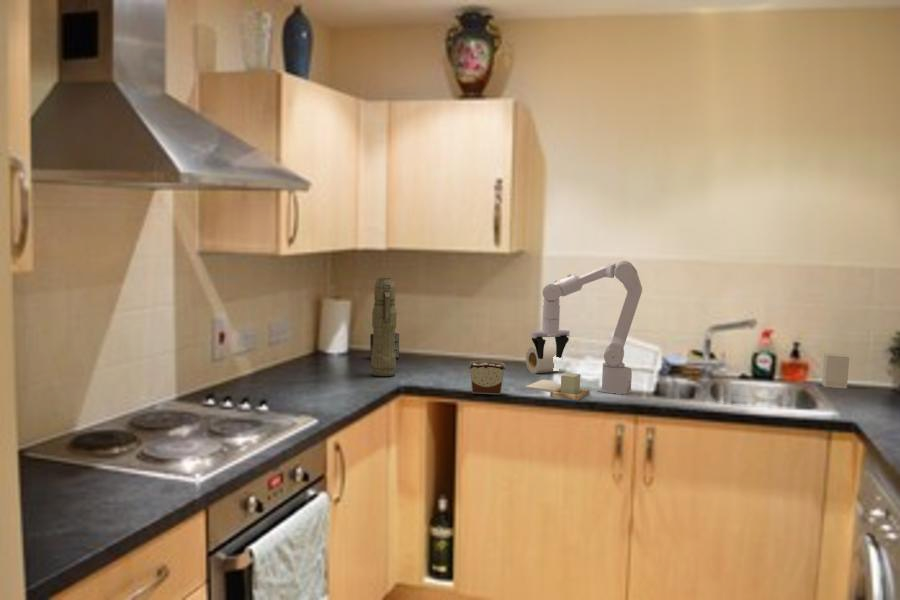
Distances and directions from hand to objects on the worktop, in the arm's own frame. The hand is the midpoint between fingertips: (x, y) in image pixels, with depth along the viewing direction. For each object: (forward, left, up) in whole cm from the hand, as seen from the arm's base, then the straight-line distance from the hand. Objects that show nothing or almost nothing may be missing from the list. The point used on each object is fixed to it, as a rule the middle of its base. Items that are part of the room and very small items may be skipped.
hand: (549, 358), depth 269 cm
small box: (+77, -14, -11) cm, 79 cm away
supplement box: (-86, -58, -10) cm, 104 cm away
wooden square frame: (-11, +9, -10) cm, 17 cm away
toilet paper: (+12, -25, -11) cm, 30 cm away
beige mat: (0, 0, -10) cm, 10 cm away
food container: (+14, +20, -10) cm, 26 cm away
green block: (-11, +9, -10) cm, 17 cm away
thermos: (+59, +14, -10) cm, 61 cm away
